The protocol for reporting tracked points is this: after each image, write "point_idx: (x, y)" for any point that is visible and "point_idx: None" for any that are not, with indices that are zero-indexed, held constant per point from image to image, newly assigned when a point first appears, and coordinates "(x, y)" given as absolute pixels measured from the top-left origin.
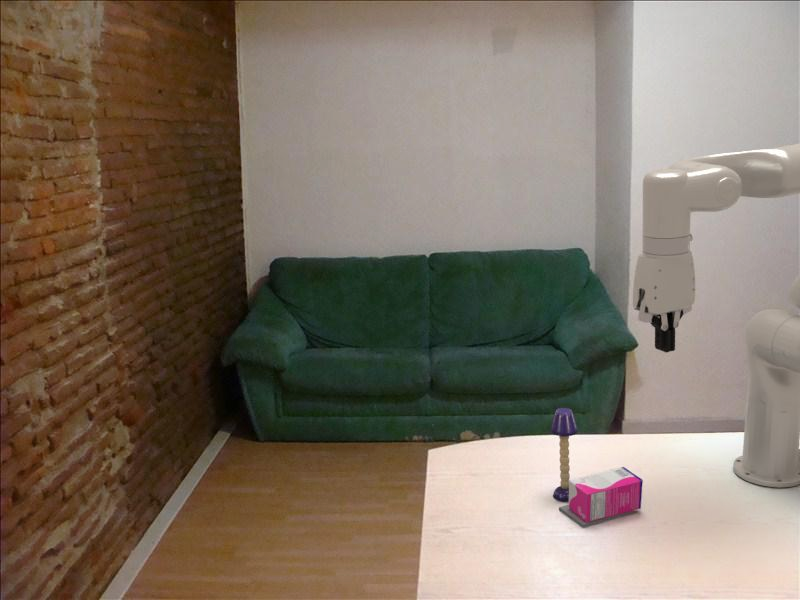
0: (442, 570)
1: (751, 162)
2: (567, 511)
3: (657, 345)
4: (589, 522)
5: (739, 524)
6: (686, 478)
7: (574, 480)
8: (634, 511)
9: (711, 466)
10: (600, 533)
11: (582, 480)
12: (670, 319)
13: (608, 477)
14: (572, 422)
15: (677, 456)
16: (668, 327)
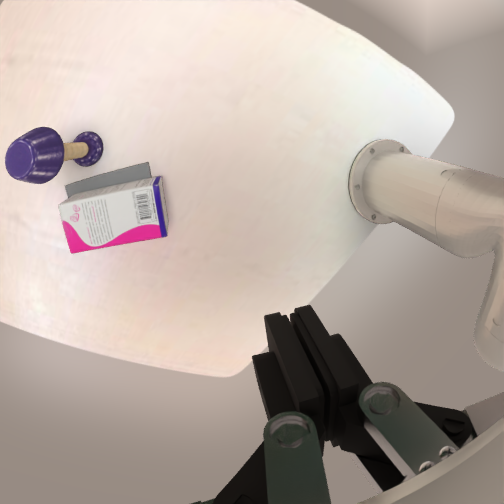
0: None
1: None
2: None
3: (254, 366)
4: None
5: (269, 278)
6: (287, 150)
7: (64, 210)
8: None
9: (339, 133)
10: (96, 253)
11: (75, 213)
12: (378, 449)
13: (116, 216)
14: (39, 177)
15: (317, 86)
16: (336, 433)
